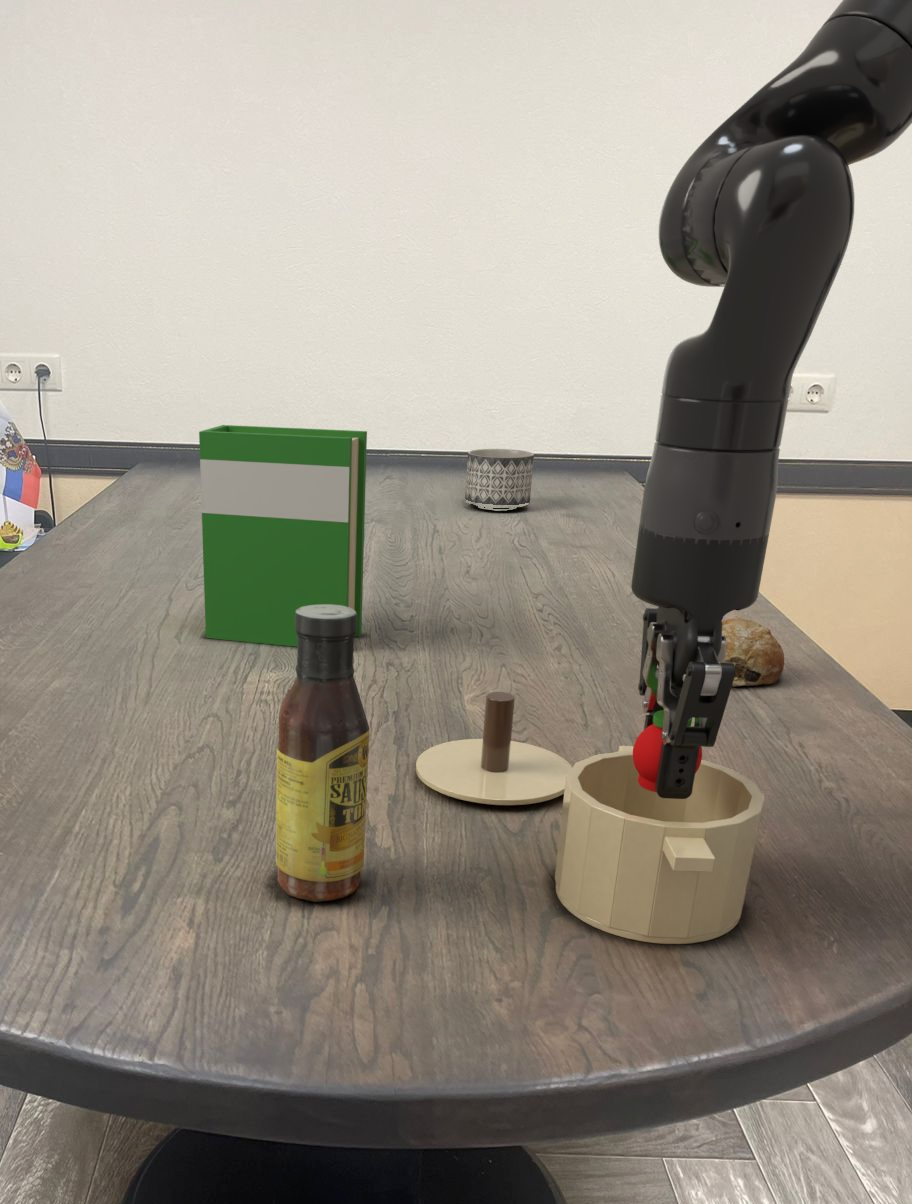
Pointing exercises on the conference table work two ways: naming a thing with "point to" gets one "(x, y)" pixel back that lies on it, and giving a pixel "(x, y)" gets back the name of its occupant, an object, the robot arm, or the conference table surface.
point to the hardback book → (280, 527)
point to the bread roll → (752, 652)
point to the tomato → (652, 752)
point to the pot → (656, 851)
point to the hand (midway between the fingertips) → (663, 780)
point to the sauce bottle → (322, 762)
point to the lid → (494, 763)
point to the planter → (499, 476)
